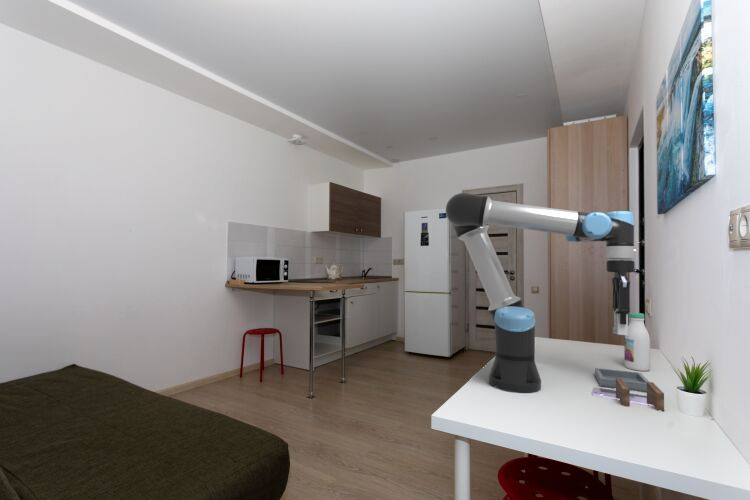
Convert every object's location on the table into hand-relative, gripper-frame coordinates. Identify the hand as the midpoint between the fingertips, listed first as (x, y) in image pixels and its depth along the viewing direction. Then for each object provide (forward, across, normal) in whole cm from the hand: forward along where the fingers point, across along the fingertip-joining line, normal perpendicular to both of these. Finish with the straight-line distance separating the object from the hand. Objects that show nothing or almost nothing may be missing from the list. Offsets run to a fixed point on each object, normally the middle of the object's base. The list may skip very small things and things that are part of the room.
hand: (620, 333), depth 120 cm
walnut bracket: (+16, -17, -1) cm, 23 cm away
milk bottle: (+16, +23, -9) cm, 29 cm away
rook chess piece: (+1, 0, 0) cm, 1 cm away
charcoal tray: (+16, 0, 0) cm, 16 cm away
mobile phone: (+16, -14, +2) cm, 22 cm away
